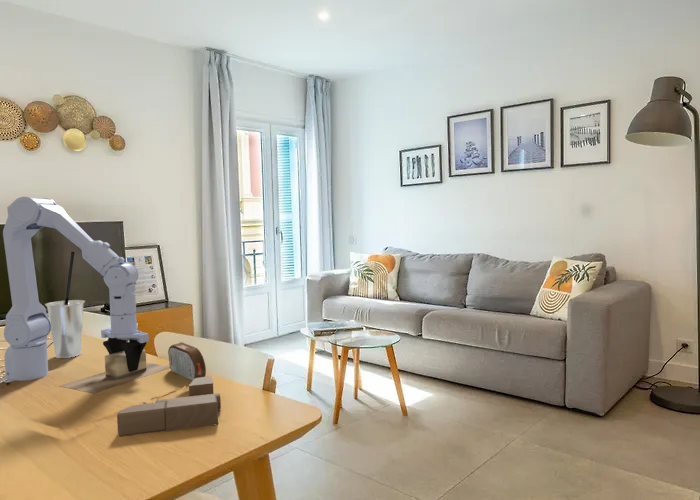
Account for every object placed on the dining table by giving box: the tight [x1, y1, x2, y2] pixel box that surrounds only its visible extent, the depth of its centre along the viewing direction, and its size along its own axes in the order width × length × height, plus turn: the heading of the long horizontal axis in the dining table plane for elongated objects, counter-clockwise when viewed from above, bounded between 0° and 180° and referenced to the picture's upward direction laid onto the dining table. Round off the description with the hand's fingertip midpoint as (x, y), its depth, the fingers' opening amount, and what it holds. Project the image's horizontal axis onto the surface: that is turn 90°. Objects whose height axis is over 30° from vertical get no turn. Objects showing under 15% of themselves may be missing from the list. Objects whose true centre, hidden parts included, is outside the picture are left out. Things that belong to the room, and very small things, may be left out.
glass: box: [44, 251, 86, 359], centre depth 149 cm, size 11×11×30 cm
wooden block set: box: [116, 375, 222, 437], centre depth 102 cm, size 17×6×18 cm
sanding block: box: [104, 349, 147, 379], centre depth 126 cm, size 4×8×5 cm, turn 151°
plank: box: [59, 362, 170, 394], centre depth 125 cm, size 12×22×1 cm, turn 152°
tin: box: [167, 341, 207, 385], centre depth 124 cm, size 15×3×8 cm, turn 42°
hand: (126, 369), depth 126 cm, fingers closed on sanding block, 4 cm apart
